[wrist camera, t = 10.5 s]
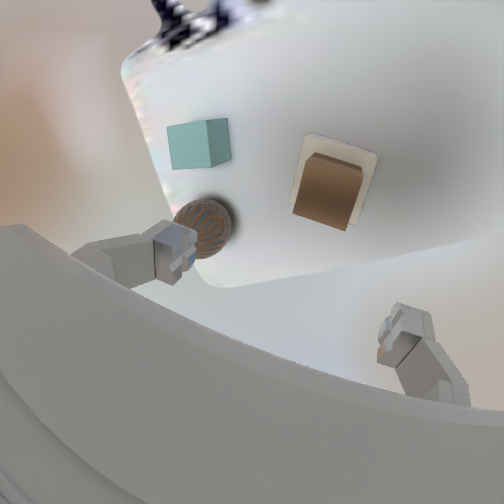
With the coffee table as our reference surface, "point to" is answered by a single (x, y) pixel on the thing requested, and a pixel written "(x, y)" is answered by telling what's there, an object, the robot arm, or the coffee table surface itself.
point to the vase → (206, 225)
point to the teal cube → (199, 144)
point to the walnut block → (328, 190)
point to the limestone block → (340, 152)
